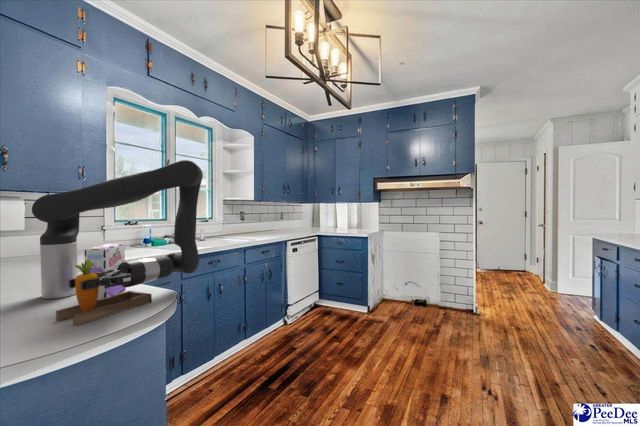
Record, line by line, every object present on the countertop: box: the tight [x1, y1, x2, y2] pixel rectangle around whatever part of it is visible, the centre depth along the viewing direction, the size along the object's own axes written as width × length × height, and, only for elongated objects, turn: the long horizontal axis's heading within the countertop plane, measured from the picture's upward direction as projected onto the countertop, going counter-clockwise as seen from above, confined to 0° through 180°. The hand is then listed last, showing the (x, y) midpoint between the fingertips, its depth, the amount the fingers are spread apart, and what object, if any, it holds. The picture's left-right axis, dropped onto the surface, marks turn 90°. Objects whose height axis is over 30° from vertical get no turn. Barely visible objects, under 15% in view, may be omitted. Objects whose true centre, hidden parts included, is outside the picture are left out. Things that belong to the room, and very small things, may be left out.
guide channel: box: [55, 290, 153, 327], centre depth 86 cm, size 9×20×3 cm, turn 155°
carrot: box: [75, 259, 98, 312], centre depth 81 cm, size 5×5×15 cm
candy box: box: [84, 243, 127, 300], centre depth 101 cm, size 14×6×16 cm, turn 9°
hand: (75, 285), depth 79 cm, fingers closed on carrot, 4 cm apart
